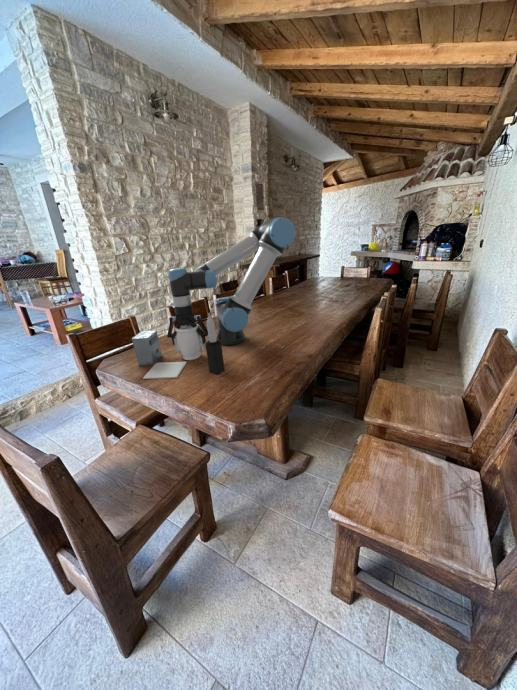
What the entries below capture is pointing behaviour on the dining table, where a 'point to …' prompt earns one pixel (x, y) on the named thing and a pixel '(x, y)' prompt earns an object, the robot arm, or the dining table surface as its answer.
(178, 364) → the mat
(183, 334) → the jar
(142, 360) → the block
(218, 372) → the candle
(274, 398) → the dining table surface
